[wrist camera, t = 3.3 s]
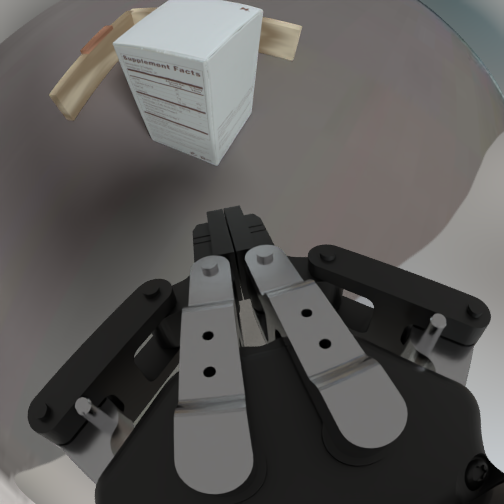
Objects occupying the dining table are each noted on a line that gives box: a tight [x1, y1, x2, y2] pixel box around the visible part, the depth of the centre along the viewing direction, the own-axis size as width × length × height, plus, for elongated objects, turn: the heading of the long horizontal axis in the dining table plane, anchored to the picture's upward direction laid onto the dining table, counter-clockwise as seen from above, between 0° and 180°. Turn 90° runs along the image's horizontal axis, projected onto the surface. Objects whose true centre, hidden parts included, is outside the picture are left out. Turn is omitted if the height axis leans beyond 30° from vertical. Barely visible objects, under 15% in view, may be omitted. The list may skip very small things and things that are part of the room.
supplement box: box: [113, 0, 263, 166], centre depth 18 cm, size 7×7×13 cm
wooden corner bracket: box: [49, 8, 302, 121], centre depth 23 cm, size 23×17×6 cm
